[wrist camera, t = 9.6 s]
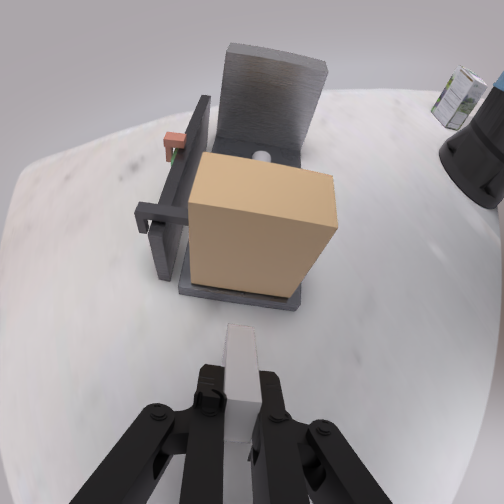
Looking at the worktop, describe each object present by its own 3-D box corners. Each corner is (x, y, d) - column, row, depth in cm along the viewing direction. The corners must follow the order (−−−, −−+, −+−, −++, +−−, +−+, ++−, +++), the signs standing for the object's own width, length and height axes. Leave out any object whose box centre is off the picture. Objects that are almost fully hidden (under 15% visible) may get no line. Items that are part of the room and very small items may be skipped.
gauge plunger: (289, 297, 25) (337, 227, 16) (140, 274, 23) (113, 192, 15) (292, 202, 30) (325, 121, 21) (169, 182, 29) (165, 95, 20)
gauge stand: (295, 311, 26) (360, 229, 15) (153, 289, 25) (124, 190, 14) (296, 145, 37) (325, 61, 27) (201, 128, 36) (208, 40, 26)
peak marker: (183, 165, 25) (183, 141, 23) (164, 163, 25) (163, 139, 23) (186, 158, 26) (186, 134, 23) (168, 156, 26) (166, 131, 23)
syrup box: (444, 115, 55) (471, 69, 43) (458, 131, 53) (488, 85, 40) (430, 111, 54) (457, 62, 41) (445, 128, 51) (476, 78, 39)
